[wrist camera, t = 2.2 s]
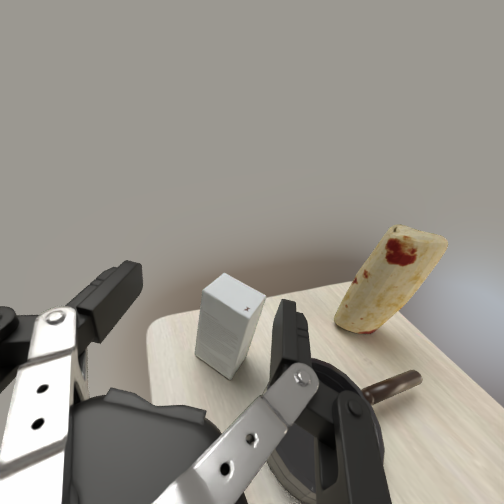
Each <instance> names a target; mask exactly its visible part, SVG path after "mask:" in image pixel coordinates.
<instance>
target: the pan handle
mask: <svg viewBox="0 0 504 504" xmlns="http://www.w3.org/2000/svg"><path fill="white" fill-rule="evenodd" d="M421 382H422V376H421V374H420V373H419V372H417V371H415V370H409V371H407V372H404V373H402V374H399V375H396V376H394V377H391V378H389V379H386V380H384V381H381V382H379V383H376V384H373V385H371V386H368V387H366V388H363V389H362V390H361V391H362V393H363V396H364V397H365V399H366V400H367V401H369V403H370V404H371V405H374V404H376V403H378V402H381V401H383V400H385V399H387V398H390V397H392V396H394V395H396V394H399V393H401V392H403V391H406V390H408V389H410V388H412V387H415V386H417V385H419V384H421Z"/></svg>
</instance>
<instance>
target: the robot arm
mask: <svg viewBox="0 0 504 504" xmlns="http://www.w3.org/2000/svg"><path fill="white" fill-rule="evenodd" d="M142 288H143V277H142V265H141V264H140V263H136V262H132V261H128V260H126V261H124V262H123V263H122V264H121V265H120V266H119V267H112V268H110V269H108V270H106V271H104V272H103V273H101V274H100V275H99V276H98V277H97V278H96V280H94V281H93V282H91V283H90V285H88V286H87V287H86V288H85V289H84V290H82V291H81V292H80V293H79V294H78V295H77V296H76V297H75V298H73V299H72V300H71V301H70V302H69V303H68V304H67V305H65V306H58V307H53V308H50V309H48V310H46V311H44V312H43V313H41V314H40V315H16V313H15V311H14V310H13V309H12V308H10V307H5V306H0V393H1V392H2V391H3V390H4V389H5V388H6V387H7V386H8V385H9V384H10V382H12V380H13V379H14V378H15V377H16V382H15V386H14V391H13V395H12V400H11V405H10V409H9V415H8V419H7V423H6V428H5V433H4V437H3V442H2V447H1V450H0V504H248V503H247V500H246V497H245V494H244V491H245V490H246V488H247V487H248V485H249V484H250V483H251V481H252V480H253V479H254V477H255V476H256V474H257V473H258V472H259V470H260V469H261V468H262V466H263V465H264V463H265V462H266V461H267V459H268V458H269V457H270V455H271V454H272V452H273V451H274V450H275V448H276V447H277V446H278V444H279V443H280V441H281V440H282V439H283V437H284V436H285V435H286V433H287V432H288V430H289V429H290V428H291V426H292V425H293V424H294V423H295V424H296V425H298V426H299V427H301V428H302V429H304V430H305V431H307V432H308V433H310V434H311V435H313V436H314V455H315V482H316V504H392V502H391V498H390V493H389V489H388V485H387V480H386V476H385V472H384V467H383V463H382V459H381V454H380V450H379V446H378V441H377V437H376V433H375V428H374V424H373V420H372V415H371V412H370V409H369V407H368V405H367V403H366V402H365V401H364V400H363V399H362V398H361V397H360V396H359V395H358V394H356V393H355V392H352V391H348V390H345V391H342V392H341V393H338V392H336V391H335V390H333V389H331V388H330V387H328V386H326V385H325V384H323V383H322V382H321V381H320V380H319V379H318V377H317V375H316V373H315V372H314V370H313V368H312V362H311V352H310V342H309V333H308V323H307V320H306V318H305V316H304V315H303V313H299V312H296V302H294V301H290V300H286V299H282V300H281V302H280V305H279V307H278V310H277V313H276V315H275V318H274V322H273V330H272V346H271V363H270V379H269V386H271V387H270V388H269V389H268V390H267V391H266V392H265V393H264V394H263V395H260V396H258V397H257V398H256V399H255V400H254V401H253V402H252V403H251V404H250V405H249V406H248V407H247V409H246V410H245V411H244V412H243V413H242V414H241V415H240V416H239V417H238V418H237V419H236V420H235V421H234V422H233V423H232V424H231V425H230V426H229V427H228V428H227V429H226V430H225V431H224V432H223V433H221V432H220V430H219V429H218V428H217V427H216V426H215V425H214V424H213V423H212V422H211V421H210V420H208V419H207V418H205V416H206V410H202V409H198V408H194V407H190V406H186V405H171V406H155V405H153V404H151V403H149V402H148V401H146V400H145V399H143V398H141V397H140V396H138V395H137V394H135V393H132V392H128V391H123V390H119V389H115V388H110V390H109V391H108V393H107V394H106V395H102V396H96V397H93V398H90V397H89V390H88V365H87V364H88V362H87V361H88V357H87V346H88V345H89V344H90V343H91V342H95V343H100V344H101V342H102V341H103V340H104V339H105V338H106V336H107V335H108V334H109V332H110V331H111V330H112V329H113V327H114V326H115V325H116V324H117V322H118V321H119V320H120V319H121V317H122V316H123V315H124V313H125V312H126V311H127V310H128V308H129V307H130V306H131V305H132V303H133V302H134V301H135V300H136V298H137V297H138V296H139V295H140V293H141V291H142Z"/></svg>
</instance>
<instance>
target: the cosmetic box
mask: <svg viewBox="0 0 504 504" xmlns="http://www.w3.org/2000/svg"><path fill="white" fill-rule="evenodd" d="M265 300H266V295H264V294H262V293H260V292H259V291H257V290H255V289H253V288H251V287H249V286H247V285H246V284H244V283H242V282H240V281H238V280H237V279H235V278H233V277H231V276H229V275H227V274H226V273H223V274H222V275H221V276H220V277H219V278H217V279H216V280H215V281H213V282H212V283H211V284H210V285H208V286H207V287H206V288H204V289H203V291H202V299H201V308H200V315H199V323H198V331H197V339H196V346H195V355H196V356H197V357H199V358H200V359H201V360H203V361H204V362H206V363H207V364H208V365H210V366H211V367H213V368H214V369H215V370H217V371H218V372H219V373H221V374H222V375H224V376H225V377H226V378H228V379H229V380H231V379H232V377H233V376H234V374H235V373H236V371H237V370H238V368H239V367H240V365H241V364H242V362H243V361H244V359H245V358H246V356H247V353H248V350H249V347H250V344H251V341H252V338H253V335H254V332H255V329H256V326H257V323H258V320H259V317H260V314H261V312H262V308H263V305H264V303H265Z"/></svg>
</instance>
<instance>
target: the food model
mask: <svg viewBox="0 0 504 504" xmlns="http://www.w3.org/2000/svg"><path fill="white" fill-rule="evenodd" d="M447 247H448V242H447V240H446V239H445V238H444V237H443V236H441V235H436V234H433V233H428V232H422V231H419V230H416V229H413V228H410V227H408V226H404V225H401V224H399V225H394V226H392V227H390V228H389V230H388V231H387V233H386V234H385V235H384V236H383V238H382V239H381V241H380V242H379V244H378V245H377V246H376V248H375V249H374V251H373V252H372V254H371V255H370V257H369V258H368V259H367V260H366V262H365V263H364V264H363V266H362V267H361V269H360V270H359V271H358V273H357V275H356V277H355V278H354V280H353V282H352V284H351V286H350V287H349V289H348V291H347V293H346V295H345V296H344V298H343V300H342V302H341V304H340V306H339V308H338V310H337V312H336V315H335V317H334V321H335V323H336V324H337V325H338V326H340V327H342V328H343V329H345V330H348V331H351V332H354V333H358V334H371V333H373V332H374V331H376V330H377V329H378V328H379V327H380V326H382V325H383V324H384V323H385V322H386V321H387V320H388V319H390V318H391V317H392V316H393V315H394V314H395V313H396V312H397V311H398V310H400V309H401V308H402V307H403V306H404V305H405V304H406V303H407V302H408V301H409V299H410V298H411V297H412V296H413V295H414V293H415V292H416V291H417V290H418V288H419V287H420V286H421V284H422V283H423V282H424V281H425V279H426V278H427V277H428V275H429V274H430V273H431V271H432V270H433V269H434V267H435V266H436V264H437V263H438V262H439V260H440V259H441V257H442V256H443V254H444V253H445V251H446V249H447Z"/></svg>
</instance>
